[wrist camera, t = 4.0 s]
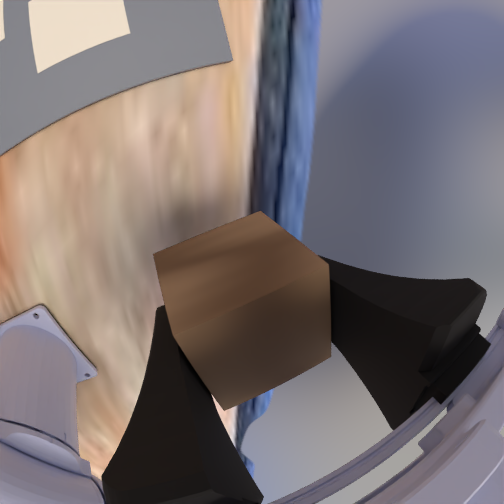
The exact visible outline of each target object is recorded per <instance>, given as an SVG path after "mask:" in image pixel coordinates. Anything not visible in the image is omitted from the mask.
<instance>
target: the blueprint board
mask: <svg viewBox="0 0 504 504" xmlns="http://www.w3.org/2000/svg"><path fill="white" fill-rule="evenodd" d="M232 60H233V58H232V54H231V50H230V46H229V42H228V38H227V34H226V30H225V26H224V22H223V18H222V14H221V11H220V7H219V3H218V0H0V156H1V155H3V154H4V153H6V152H7V151H8V150H10V149H11V148H13V147H14V146H16V145H17V144H19V143H21V142H22V141H24V140H25V139H27V138H29V137H30V136H32V135H34V134H35V133H37V132H39V131H40V130H42V129H44V128H46V127H47V126H49V125H51V124H53V123H55V122H57V121H58V120H60V119H62V118H64V117H66V116H68V115H70V114H72V113H74V112H76V111H78V110H80V109H82V108H85V107H87V106H89V105H91V104H93V103H96V102H98V101H100V100H103V99H105V98H108V97H110V96H112V95H115V94H118V93H120V92H123V91H125V90H128V89H131V88H134V87H136V86H139V85H142V84H145V83H148V82H151V81H154V80H158V79H161V78H164V77H168V76H171V75H175V74H178V73H182V72H186V71H190V70H194V69H198V68H202V67H207V66H211V65H216V64H221V63H226V62H230V61H232Z"/></svg>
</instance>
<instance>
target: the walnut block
mask: <svg viewBox="0 0 504 504" xmlns="http://www.w3.org/2000/svg"><path fill="white" fill-rule="evenodd" d="M153 256H154V260H155V265H156V270H157V274H158V279H159V283H160V287H161V291H162V296H163V300H164V304H165V308H166V311H167V315H168V319H169V323H170V326H171V330H172V334H173V336H174V338H175V340H176V341H177V343H178V344H179V346H180V348H181V349H182V351H183V352H184V354H185V355H186V357H187V358H188V360H189V362H190V363H191V365H192V366H193V368H194V369H195V371H196V372H197V374H198V375H199V376H200V378H201V379H202V381H203V382H204V384H205V385H206V387H207V388H208V389H209V391H210V392H211V394H212V395H213V396H214V398H215V399H216V401H217V402H218V403H219V405H220V406H221V407H222V409H223V410H224V411H225V410H227V409H229V408H232V407H234V406H236V405H239V404H241V403H243V402H245V401H248V400H250V399H252V398H254V397H256V396H258V395H260V394H263V393H265V392H267V391H269V390H271V389H273V388H275V387H277V386H279V385H281V384H283V383H285V382H287V381H289V380H290V379H292V378H294V377H296V376H298V375H300V374H302V373H304V372H305V371H307V370H309V369H311V368H312V367H314V366H316V365H318V364H320V363H321V362H323V361H325V360H326V359H328V358H330V357H331V304H330V278H329V264H328V263H326V262H325V261H324V260H323V259H321V258H320V257H319V256H318V255H316V254H315V253H314V252H312V251H311V250H310V249H309V248H307V247H306V246H305V245H304V244H302V243H301V242H300V241H299V240H297V239H296V238H295V237H294V236H292V235H291V234H290V233H288V232H287V231H286V230H285V229H283V228H282V227H281V226H279V225H278V224H277V223H276V222H274V221H273V220H272V219H270V218H269V217H268V216H266V215H265V214H264V213H262V212H261V211H259V212H256V213H254V214H251V215H248V216H246V217H243V218H241V219H238V220H236V221H233V222H230V223H228V224H225V225H223V226H220V227H218V228H215V229H213V230H210V231H208V232H205V233H203V234H200V235H198V236H195V237H193V238H190V239H188V240H186V241H183V242H181V243H178V244H176V245H174V246H171V247H169V248H166V249H164V250H162V251H159V252H157V253H155V254H153Z"/></svg>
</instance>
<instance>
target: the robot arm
mask: <svg viewBox="0 0 504 504" xmlns="http://www.w3.org/2000/svg"><path fill="white" fill-rule="evenodd" d="M318 256H319V255H318ZM319 257H320V258H321V259H323V260H324V261H325V262H326V263H328V264H329V278H330V304H331V342H332V343H333V344H334V345H335V346H336V347H337V348H338V350H339V351H340V352H341V353H342V354H343V356H344V357H345V358H346V360H347V361H348V362H349V364H350V365H351V366H352V368H353V369H354V370H355V372H356V373H357V375H358V376H359V378H360V379H361V380H362V382H363V383H364V385H365V386H366V388H367V389H368V391H369V392H370V394H371V395H372V397H373V398H374V400H375V401H376V403H377V405H378V406H379V408H380V410H381V411H382V413H383V415H384V416H385V418H386V420H387V422H388V423H389V425H390V427H391V428H392V429H393V430H394V431H392V432H391V433H390V434H389V435H387V436H386V437H385V438H383V439H382V440H381V441H379V442H378V443H377V444H375V445H374V446H372V447H371V448H369V449H368V450H367V451H365V452H364V453H362V454H361V455H359V456H358V457H356V458H355V459H353V460H352V461H350V462H349V463H347V464H345V465H344V466H342V467H340V468H339V469H337V470H335V471H333V472H332V473H330V474H328V475H327V476H325V477H323V478H321V479H319V480H317V481H316V482H314V483H312V484H310V485H308V486H306V487H304V488H302V489H300V490H298V491H296V492H294V493H292V494H289V495H287V496H285V497H283V498H281V499H278V500H276V501H273V502H271V503H269V504H315V503H318V502H319V501H321V500H323V499H325V498H327V497H329V496H331V495H332V494H334V493H336V492H338V491H339V490H341V489H343V488H345V487H346V486H348V485H349V484H351V483H353V482H354V481H356V480H357V479H359V478H361V477H362V476H363V475H365V474H367V473H368V472H370V471H371V470H372V469H374V468H375V467H377V466H378V465H380V464H381V463H382V462H384V461H385V460H386V459H388V458H389V457H390V456H392V455H393V454H394V453H396V452H397V451H398V450H399V449H401V448H402V447H403V446H404V445H406V443H408V442H409V441H410V440H411V439H413V438H414V437H415V436H416V435H417V434H418V433H420V432H421V431H422V430H423V429H424V428H425V427H426V426H427V425H428V424H429V423H431V421H433V420H434V419H435V418H436V417H437V416H438V415H439V414H440V413H441V412H442V411H443V410H444V409H445V407H447V414H446V415H445V416H444V417H443V418H442V419H441V420H440V421H439V422H438V423H437V424H436V425H435V426H434V427H433V428H432V430H431V431H430V432H429V433H428V434H427V435H426V436H425V437H424V438H422V439H421V440H420V441H419V443H418V445H419V446H420V447H421V448H422V449H423V451H424V452H423V453H422V454H421V455H420V456H419V457H418V458H417V459H415V460H414V461H413V462H412V463H411V464H409V465H408V466H407V467H405V469H403V470H402V471H400V472H399V473H398V474H396V475H395V476H394V477H392V478H391V479H390V480H388V481H387V482H386V483H384V484H383V485H381V486H380V487H379V488H377V489H375V490H374V491H373V492H371V493H370V494H368V495H366V496H365V497H363V498H362V499H360V500H359V501H357V502H355V503H354V504H504V437H503V436H502V435H501V434H500V431H501V430H502V428H503V426H504V308H503V310H502V312H501V314H500V316H499V317H498V320H497V322H496V324H495V326H494V327H493V329H492V330H491V331H490V333H489V334H488V335H487V337H486V338H484V337H482V336H481V335H480V334H479V332H480V330H481V329H480V327H479V326H477V325H476V324H475V323H476V321H477V319H478V317H479V315H480V312H481V310H482V308H483V305H484V303H485V300H486V296H487V294H486V290H485V289H484V288H483V287H481V286H480V285H478V284H477V283H475V282H474V281H473V280H471V279H469V278H464V279H447V280H438V279H436V280H435V279H416V278H406V277H398V276H391V275H386V274H381V273H376V272H371V271H367V270H364V269H360V268H356V267H352V266H349V265H346V264H343V263H339V262H337V261H333V260H330V259H328V258H325V257H321V256H319ZM34 313H36V314H38V315H39V316H37V315H35V314H34ZM87 373H88V374H87ZM95 376H97V369H96V368H95V367H94V366H93V365H92V364H91V363H90V362H89V360H88V359H87V358H86V357H85V356H84V355H83V354H82V353H81V351H80V350H79V349H78V348H77V347H76V346H75V345H74V343H73V342H72V341H71V340H70V339H69V337H68V336H67V335H66V334H65V332H64V331H63V330H62V329H61V327H60V326H59V325H58V324H57V322H56V321H55V320H54V318H53V317H52V316H51V314H50V313H49V312H48V310H47V309H46V308H45V307H44V306H41V305H39V306H36V307H34V308H32V309H30V310H28V311H26V312H24V313H22V314H20V315H18V316H16V317H14V318H12V319H10V320H8V321H6V322H4V323H3V324H1V325H0V504H261V503H262V500H263V498H264V496H263V495H262V493H261V492H260V490H259V489H258V487H257V485H256V483H255V482H254V480H253V479H252V477H251V475H250V474H249V472H248V470H247V468H246V467H245V465H244V463H243V461H242V460H241V458H240V456H239V454H238V452H237V450H236V449H235V447H234V445H233V443H232V441H231V439H230V437H229V435H228V433H227V431H226V429H225V427H224V425H223V423H222V421H221V419H220V416H219V414H218V412H217V409H216V406H215V404H214V401H213V398H212V395H211V392H210V391H209V389H208V388H207V387H206V385H205V384H204V382H203V381H202V379H201V378H200V376H199V375H198V374H197V372H196V371H195V369H194V368H193V366H192V365H191V363H190V362H189V360H188V358H187V357H186V355H185V354H184V352H183V351H182V349H181V348H180V346H179V344H178V343H177V341H176V340H175V338H174V336H173V334H172V330H171V326H170V323H169V319H168V315H167V311H166V308H165V305H163V306H161V307H158V308H157V310H156V316H155V325H154V332H153V338H152V344H151V350H150V355H149V359H148V364H147V368H146V373H145V377H144V380H143V384H142V388H141V391H140V394H139V397H138V400H137V403H136V406H135V408H134V411H133V414H132V417H131V419H130V422H129V424H128V426H127V429H126V431H125V433H124V435H123V437H122V439H121V442H120V444H119V446H118V448H117V450H116V452H115V454H114V455H113V457H112V459H111V461H110V462H109V464H108V466H107V467H106V469H105V471H104V473H103V474H102V476H101V477H102V481H101V480H100V479H99V478H97V477H96V476H94V475H92V474H91V468H90V462H89V461H87V460H84V459H82V458H81V457H80V455H79V444H78V431H77V406H76V383H78V382H81V381H84V380H87V379H90V378H92V377H95Z"/></svg>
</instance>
